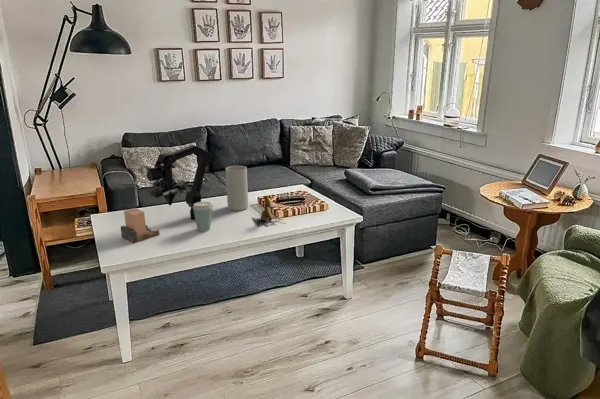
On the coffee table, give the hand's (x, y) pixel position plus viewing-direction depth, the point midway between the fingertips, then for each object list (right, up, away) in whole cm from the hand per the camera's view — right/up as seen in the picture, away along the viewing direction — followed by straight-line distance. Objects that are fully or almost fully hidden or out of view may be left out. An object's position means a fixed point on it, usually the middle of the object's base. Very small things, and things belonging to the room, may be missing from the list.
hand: (169, 205), depth 243 cm
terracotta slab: (-14, -14, -12) cm, 23 cm away
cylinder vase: (+32, -2, +32) cm, 46 cm away
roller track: (-12, -16, -10) cm, 22 cm away
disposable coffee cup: (+19, -13, -1) cm, 23 cm away
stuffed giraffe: (+52, -9, +12) cm, 55 cm away
